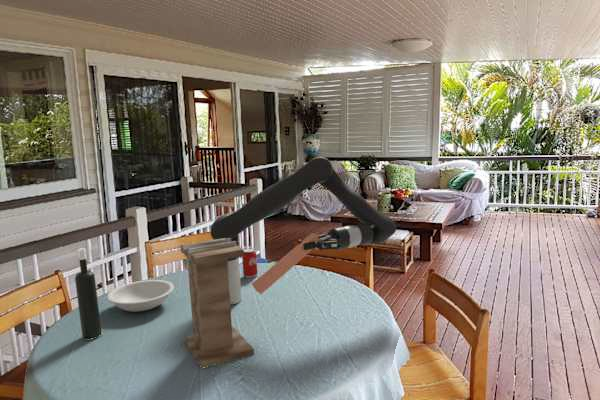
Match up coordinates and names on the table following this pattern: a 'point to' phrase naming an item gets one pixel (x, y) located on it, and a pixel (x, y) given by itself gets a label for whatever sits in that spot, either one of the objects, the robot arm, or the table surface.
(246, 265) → the beverage can
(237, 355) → the wooden pedestal
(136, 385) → the table surface
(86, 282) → the wine bottle
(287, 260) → the stick
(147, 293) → the soup bowl
